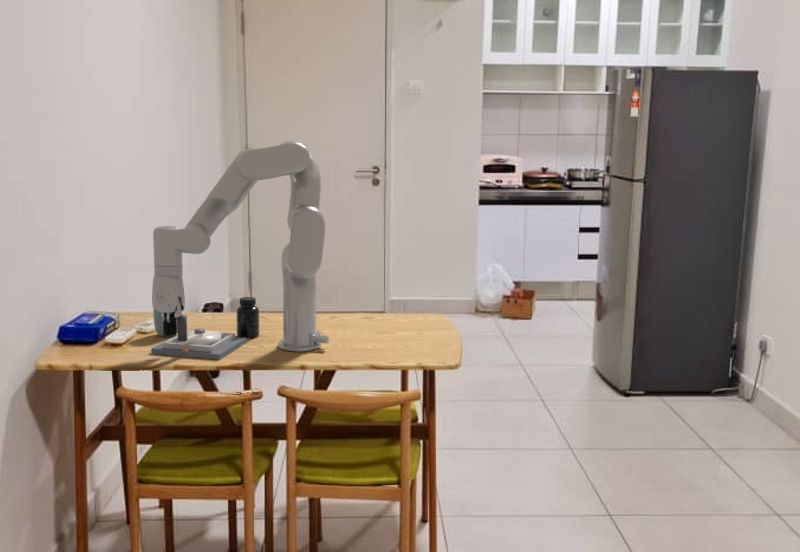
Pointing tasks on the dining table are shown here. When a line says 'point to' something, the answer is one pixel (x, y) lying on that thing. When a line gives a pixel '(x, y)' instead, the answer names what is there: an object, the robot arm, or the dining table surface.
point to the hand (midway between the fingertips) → (170, 334)
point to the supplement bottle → (247, 318)
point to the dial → (195, 334)
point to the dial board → (200, 347)
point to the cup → (159, 323)
